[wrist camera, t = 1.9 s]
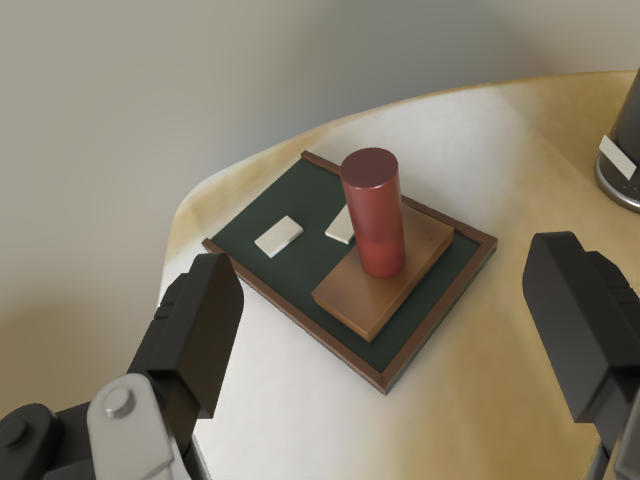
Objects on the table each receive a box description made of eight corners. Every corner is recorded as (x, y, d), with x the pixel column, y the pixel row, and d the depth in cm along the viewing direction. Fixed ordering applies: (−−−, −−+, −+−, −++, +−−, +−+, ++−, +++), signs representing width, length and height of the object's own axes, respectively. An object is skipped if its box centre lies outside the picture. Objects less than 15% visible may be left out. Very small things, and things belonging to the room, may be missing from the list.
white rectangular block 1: (287, 218, 38) (286, 215, 38) (304, 231, 37) (302, 227, 36) (256, 244, 37) (254, 241, 37) (271, 258, 36) (269, 255, 35)
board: (308, 160, 44) (304, 149, 43) (496, 249, 32) (498, 238, 31) (207, 251, 39) (200, 242, 38) (385, 396, 28) (383, 390, 26)
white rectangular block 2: (348, 204, 38) (348, 201, 37) (371, 213, 36) (370, 209, 36) (325, 235, 36) (324, 232, 36) (348, 245, 35) (347, 241, 34)
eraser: (398, 216, 35) (387, 101, 26) (453, 244, 32) (463, 125, 23) (317, 305, 32) (270, 209, 22) (370, 346, 29) (342, 254, 20)
